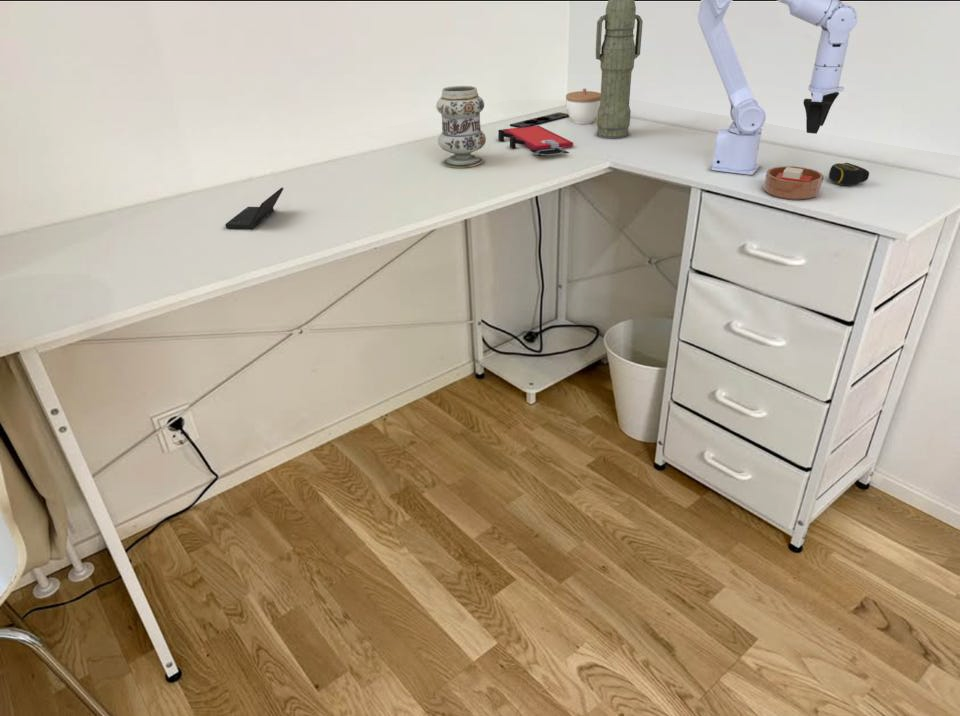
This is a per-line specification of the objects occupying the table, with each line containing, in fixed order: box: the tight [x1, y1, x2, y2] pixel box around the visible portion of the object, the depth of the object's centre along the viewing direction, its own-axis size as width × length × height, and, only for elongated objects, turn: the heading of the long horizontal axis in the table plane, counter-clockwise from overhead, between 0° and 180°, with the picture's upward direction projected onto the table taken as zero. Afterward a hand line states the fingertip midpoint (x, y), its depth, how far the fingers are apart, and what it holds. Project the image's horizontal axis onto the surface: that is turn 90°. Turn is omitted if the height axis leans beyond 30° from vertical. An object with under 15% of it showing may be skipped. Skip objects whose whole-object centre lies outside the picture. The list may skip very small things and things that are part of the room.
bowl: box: [763, 165, 824, 201], centre depth 149 cm, size 11×11×4 cm
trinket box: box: [565, 88, 601, 125], centre depth 208 cm, size 11×11×9 cm
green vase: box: [595, 0, 644, 140], centre depth 187 cm, size 9×12×35 cm
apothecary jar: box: [435, 85, 487, 169], centre depth 173 cm, size 12×12×18 cm
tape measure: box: [828, 162, 870, 186], centre depth 153 cm, size 7×7×4 cm
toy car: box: [776, 167, 813, 181], centre depth 149 cm, size 7×4×4 cm, turn 59°
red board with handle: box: [497, 125, 574, 157], centre depth 189 cm, size 30×3×15 cm
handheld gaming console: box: [225, 187, 284, 230], centre depth 145 cm, size 12×7×10 cm
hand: (814, 129), depth 158 cm, fingers open, 7 cm apart
